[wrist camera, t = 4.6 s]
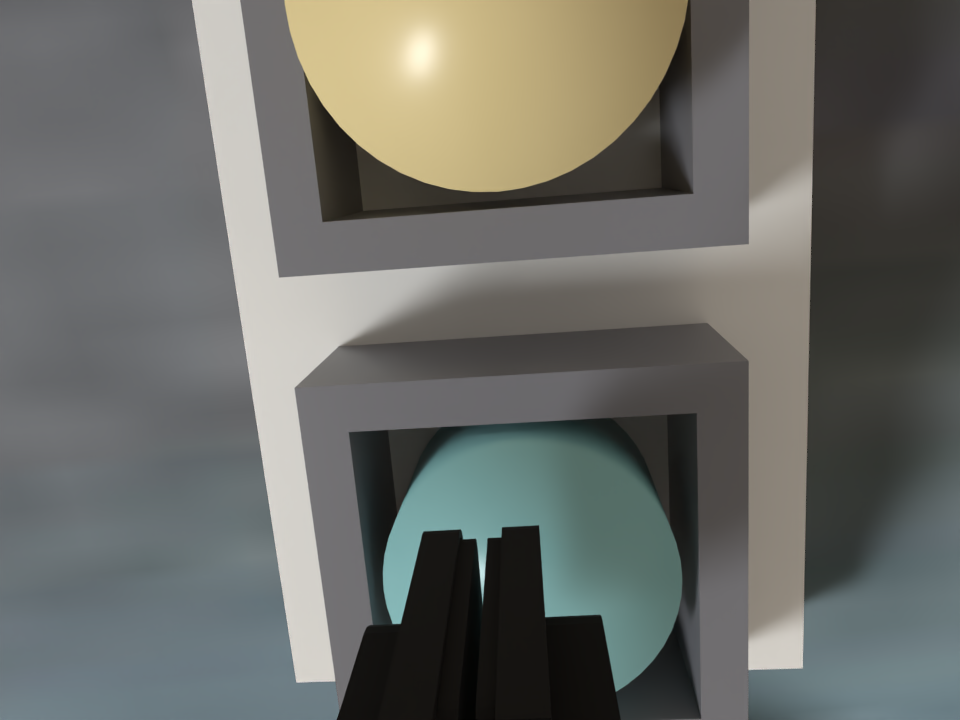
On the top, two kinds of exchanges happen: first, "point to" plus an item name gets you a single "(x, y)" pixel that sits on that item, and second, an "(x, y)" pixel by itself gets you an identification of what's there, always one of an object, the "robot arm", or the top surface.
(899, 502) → the top surface
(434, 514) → the teal button
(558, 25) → the ochre button
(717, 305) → the button panel
